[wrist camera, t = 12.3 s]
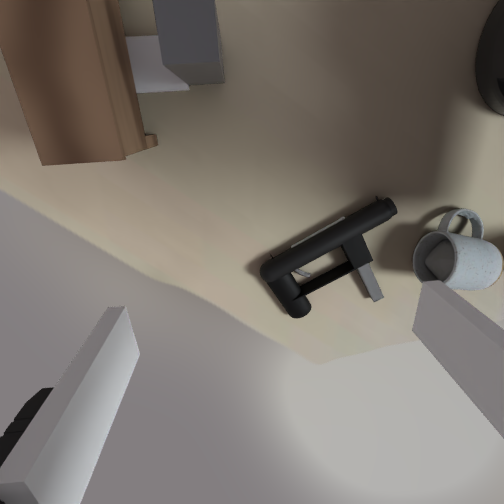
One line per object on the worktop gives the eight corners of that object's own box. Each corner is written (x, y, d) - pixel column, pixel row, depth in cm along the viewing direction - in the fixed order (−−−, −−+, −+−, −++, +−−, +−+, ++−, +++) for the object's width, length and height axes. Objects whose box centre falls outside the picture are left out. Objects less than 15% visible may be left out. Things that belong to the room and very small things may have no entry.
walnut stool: (127, -35, 28) (51, -144, 16) (160, 146, 34) (123, 160, 23) (59, -31, 27) (-66, -140, 16) (106, 150, 34) (42, 165, 23)
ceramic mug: (453, 276, 45) (494, 303, 38) (405, 270, 44) (438, 297, 37) (485, 210, 41) (538, 228, 34) (432, 202, 40) (475, 219, 33)
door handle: (423, 282, 42) (392, 192, 35) (303, 340, 46) (253, 269, 39) (410, 270, 45) (379, 185, 38) (299, 326, 49) (251, 257, 42)
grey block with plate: (220, 33, 30) (212, -22, 18) (225, 88, 32) (220, 69, 20) (66, 42, 30) (-44, -9, 18) (81, 96, 32) (-9, 83, 20)
